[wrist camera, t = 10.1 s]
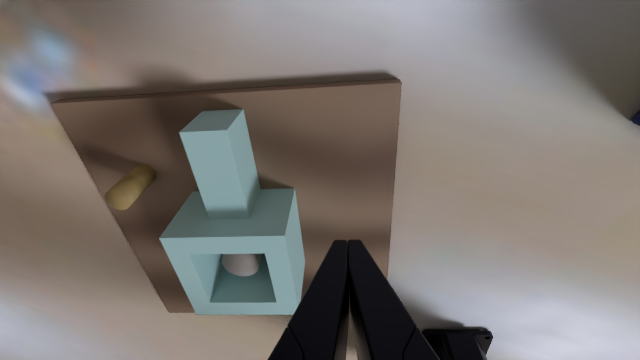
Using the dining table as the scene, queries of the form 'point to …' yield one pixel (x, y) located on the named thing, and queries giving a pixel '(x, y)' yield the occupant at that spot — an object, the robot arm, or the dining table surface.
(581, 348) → the dining table surface
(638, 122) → the supplement box
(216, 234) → the collar
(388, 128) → the board
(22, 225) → the dining table surface
